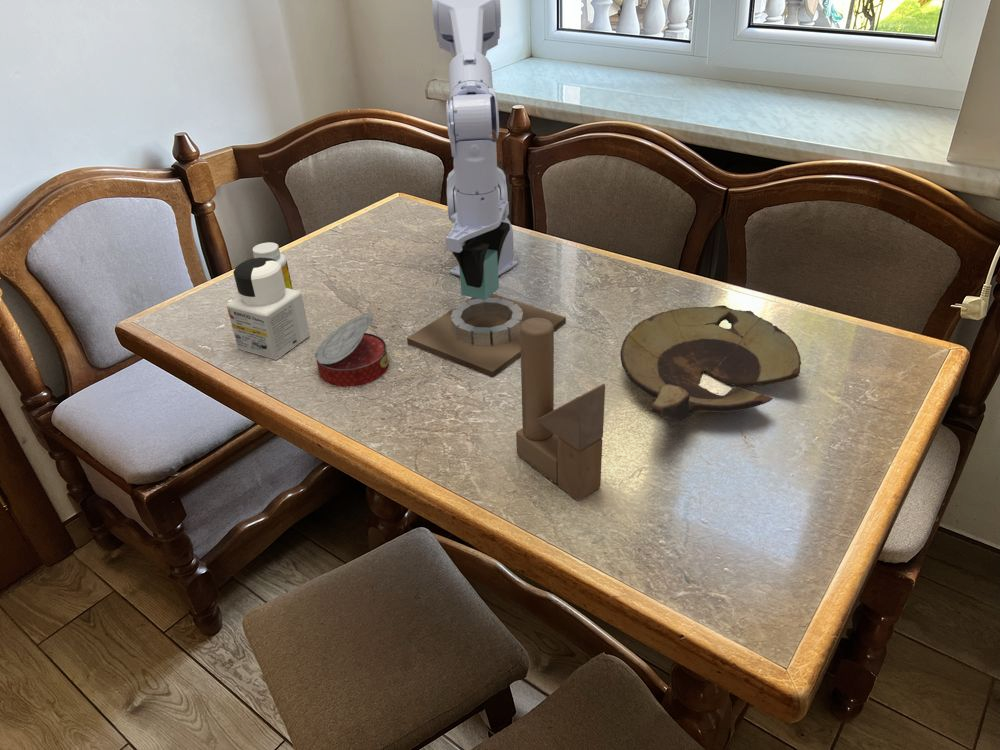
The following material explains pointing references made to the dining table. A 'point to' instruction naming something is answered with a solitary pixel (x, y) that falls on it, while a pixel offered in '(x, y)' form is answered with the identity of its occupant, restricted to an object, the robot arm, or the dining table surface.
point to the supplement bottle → (274, 253)
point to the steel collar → (483, 334)
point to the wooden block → (557, 418)
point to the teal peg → (488, 281)
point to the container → (266, 310)
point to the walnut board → (477, 358)
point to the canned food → (352, 354)
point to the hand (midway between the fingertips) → (481, 278)
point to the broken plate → (706, 359)
